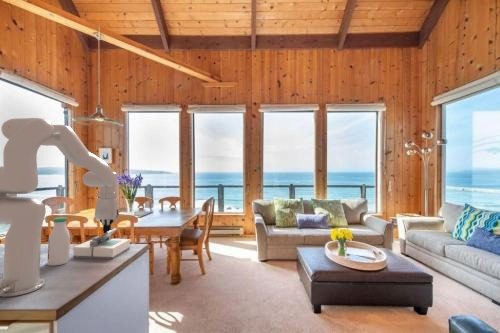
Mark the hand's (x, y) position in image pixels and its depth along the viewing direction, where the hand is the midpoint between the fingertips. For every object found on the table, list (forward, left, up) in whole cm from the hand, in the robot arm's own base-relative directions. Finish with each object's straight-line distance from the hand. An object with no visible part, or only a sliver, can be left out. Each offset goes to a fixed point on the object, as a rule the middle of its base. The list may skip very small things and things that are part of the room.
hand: (106, 232), depth 127 cm
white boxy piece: (0, +1, -10) cm, 10 cm away
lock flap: (0, +1, -1) cm, 2 cm away
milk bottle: (-15, +12, -10) cm, 22 cm away
